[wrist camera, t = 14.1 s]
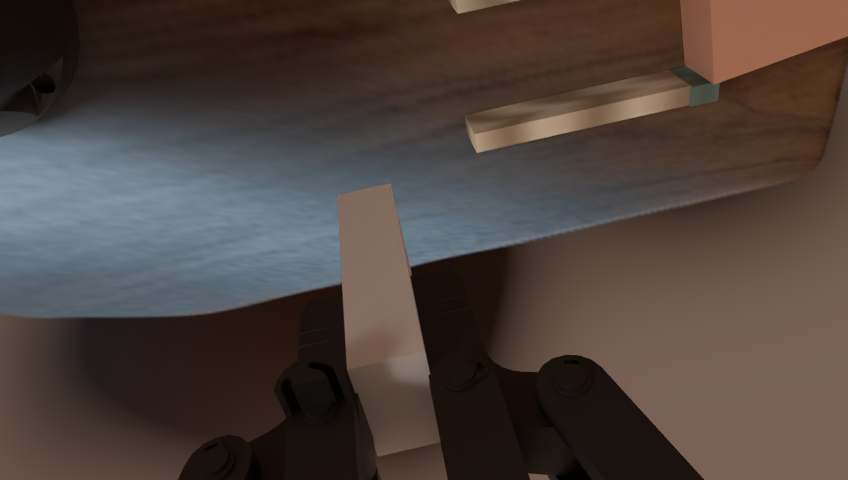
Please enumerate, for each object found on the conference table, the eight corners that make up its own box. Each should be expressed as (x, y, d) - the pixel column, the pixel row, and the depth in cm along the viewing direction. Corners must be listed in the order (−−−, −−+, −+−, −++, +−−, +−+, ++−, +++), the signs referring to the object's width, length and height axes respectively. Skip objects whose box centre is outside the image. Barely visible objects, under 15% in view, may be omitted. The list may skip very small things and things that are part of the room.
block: (683, 64, 47) (714, 84, 44) (676, -28, 43) (709, -14, 40) (810, 17, 47) (852, 34, 43) (815, -81, 43) (862, -71, 39)
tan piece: (467, 132, 48) (477, 154, 45) (444, -23, 41) (455, -10, 38) (691, 82, 48) (717, 100, 45) (705, -80, 41) (737, -72, 38)
